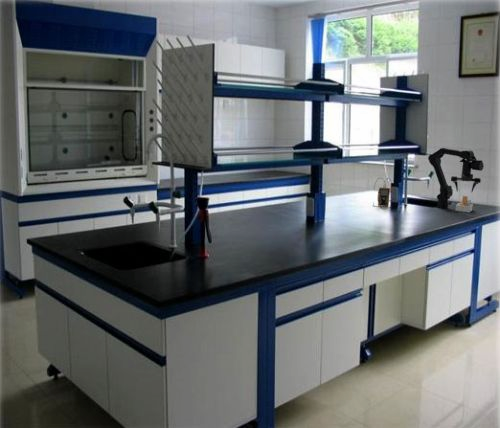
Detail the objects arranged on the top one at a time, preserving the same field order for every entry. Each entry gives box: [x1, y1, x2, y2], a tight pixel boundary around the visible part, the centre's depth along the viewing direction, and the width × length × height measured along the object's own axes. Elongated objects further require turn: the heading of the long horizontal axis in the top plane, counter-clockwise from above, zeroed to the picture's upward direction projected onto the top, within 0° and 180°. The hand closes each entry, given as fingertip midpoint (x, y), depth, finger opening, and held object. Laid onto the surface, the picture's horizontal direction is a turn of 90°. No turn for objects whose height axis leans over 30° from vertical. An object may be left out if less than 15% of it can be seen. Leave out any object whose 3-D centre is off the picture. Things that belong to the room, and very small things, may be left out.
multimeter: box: [372, 177, 393, 208], centre depth 388 cm, size 15×10×20 cm
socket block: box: [455, 202, 473, 213], centre depth 385 cm, size 9×10×4 cm
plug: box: [458, 195, 471, 206], centre depth 384 cm, size 6×6×9 cm
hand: (464, 192), depth 380 cm, fingers open, 9 cm apart
